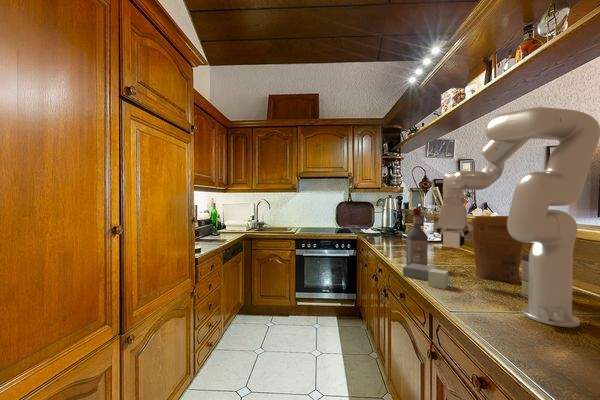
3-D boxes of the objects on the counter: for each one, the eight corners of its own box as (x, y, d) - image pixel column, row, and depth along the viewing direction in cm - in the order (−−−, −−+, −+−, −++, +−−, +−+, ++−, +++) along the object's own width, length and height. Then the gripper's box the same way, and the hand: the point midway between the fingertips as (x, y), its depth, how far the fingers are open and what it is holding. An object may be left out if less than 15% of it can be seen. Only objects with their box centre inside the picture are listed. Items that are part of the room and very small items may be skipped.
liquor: (428, 270, 139) (428, 209, 139) (409, 269, 141) (409, 209, 141) (423, 265, 148) (424, 209, 148) (405, 265, 150) (405, 208, 150)
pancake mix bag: (524, 285, 114) (525, 216, 114) (470, 277, 126) (470, 215, 126) (525, 282, 119) (525, 216, 119) (472, 274, 131) (473, 214, 131)
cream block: (459, 247, 114) (459, 233, 114) (443, 246, 118) (443, 231, 118) (462, 246, 119) (462, 232, 119) (446, 244, 123) (446, 230, 123)
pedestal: (431, 281, 119) (431, 271, 119) (403, 276, 127) (403, 267, 127) (438, 275, 128) (438, 266, 128) (411, 271, 136) (412, 262, 136)
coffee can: (545, 293, 104) (545, 255, 104) (567, 303, 94) (567, 261, 94) (514, 292, 106) (515, 254, 106) (533, 301, 95) (533, 260, 95)
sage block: (444, 289, 108) (444, 273, 108) (428, 286, 112) (428, 271, 112) (448, 285, 113) (448, 270, 113) (432, 283, 117) (432, 268, 117)
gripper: (478, 202, 116) (477, 246, 116) (433, 202, 127) (433, 241, 127) (475, 202, 110) (474, 248, 110) (428, 202, 122) (428, 243, 122)
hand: (452, 244), depth 119 cm, fingers closed on cream block, 6 cm apart
